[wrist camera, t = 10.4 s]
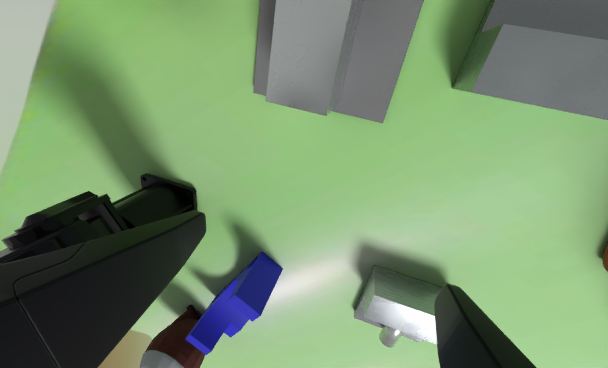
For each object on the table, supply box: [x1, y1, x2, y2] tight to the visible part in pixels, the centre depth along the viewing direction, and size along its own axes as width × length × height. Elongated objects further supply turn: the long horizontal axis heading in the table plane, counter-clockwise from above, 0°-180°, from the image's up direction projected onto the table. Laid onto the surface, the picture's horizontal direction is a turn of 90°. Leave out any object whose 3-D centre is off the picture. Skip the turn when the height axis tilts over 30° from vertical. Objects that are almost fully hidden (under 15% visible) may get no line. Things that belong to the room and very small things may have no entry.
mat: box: [253, 0, 424, 123], centre depth 15 cm, size 10×12×1 cm
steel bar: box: [266, 0, 364, 116], centre depth 12 cm, size 4×10×6 cm, turn 169°
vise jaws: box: [354, 0, 608, 347], centre depth 17 cm, size 7×30×4 cm, turn 170°
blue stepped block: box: [186, 252, 283, 355], centre depth 27 cm, size 12×4×6 cm, turn 142°
